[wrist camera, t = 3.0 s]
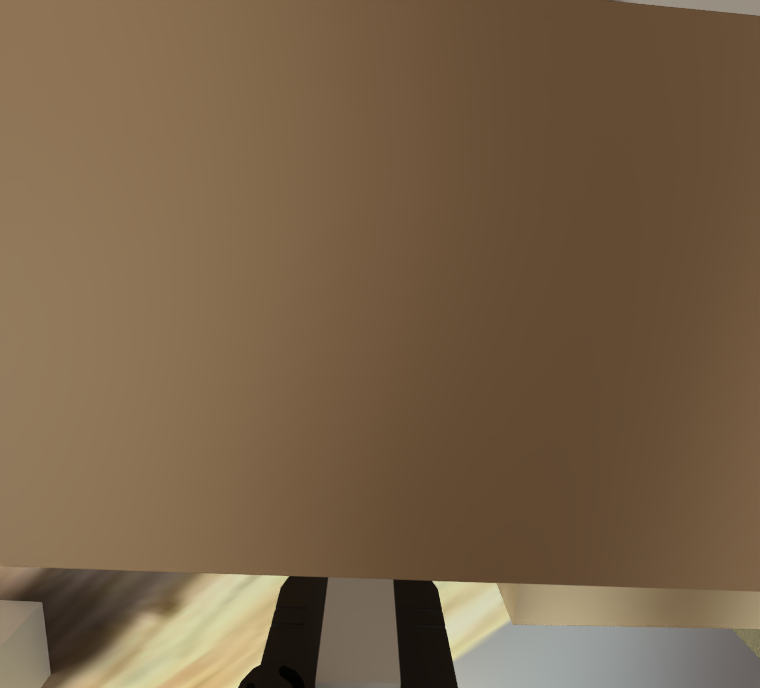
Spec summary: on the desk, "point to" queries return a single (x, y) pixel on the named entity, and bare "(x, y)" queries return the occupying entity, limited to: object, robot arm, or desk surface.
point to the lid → (381, 290)
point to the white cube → (23, 645)
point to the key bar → (630, 606)
